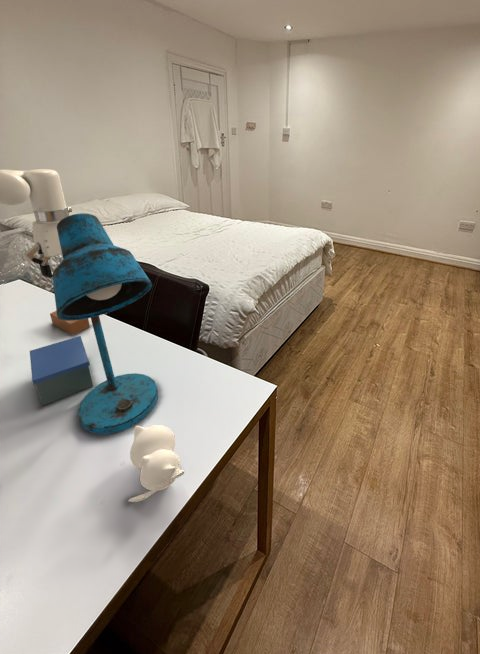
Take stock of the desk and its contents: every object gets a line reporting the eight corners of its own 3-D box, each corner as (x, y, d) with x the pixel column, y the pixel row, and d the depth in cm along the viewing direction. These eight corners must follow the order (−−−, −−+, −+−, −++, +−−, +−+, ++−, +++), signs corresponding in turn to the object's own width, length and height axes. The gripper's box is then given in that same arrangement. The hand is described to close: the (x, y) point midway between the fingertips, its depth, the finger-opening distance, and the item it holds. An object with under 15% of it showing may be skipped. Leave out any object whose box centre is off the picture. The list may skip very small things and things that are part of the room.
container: (37, 375, 82) (29, 350, 79) (86, 358, 88) (80, 335, 85) (41, 407, 73) (32, 380, 70) (95, 386, 79) (88, 361, 76)
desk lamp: (99, 466, 61) (40, 244, 44) (70, 399, 75) (17, 212, 58) (179, 418, 72) (156, 225, 55) (141, 367, 86) (113, 201, 69)
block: (52, 324, 102) (49, 313, 100) (69, 316, 106) (66, 306, 104) (73, 335, 97) (70, 323, 96) (89, 326, 101) (87, 316, 100)
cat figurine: (168, 458, 53) (150, 408, 62) (113, 513, 51) (102, 453, 59) (198, 471, 59) (177, 423, 68) (150, 521, 56) (135, 465, 65)
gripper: (75, 207, 98) (86, 258, 105) (7, 220, 84) (25, 278, 90) (90, 210, 95) (101, 263, 102) (23, 224, 81) (41, 285, 87)
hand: (66, 270), depth 96 cm, fingers open, 9 cm apart
